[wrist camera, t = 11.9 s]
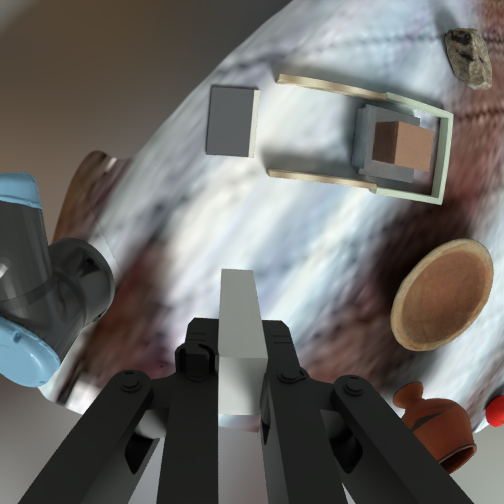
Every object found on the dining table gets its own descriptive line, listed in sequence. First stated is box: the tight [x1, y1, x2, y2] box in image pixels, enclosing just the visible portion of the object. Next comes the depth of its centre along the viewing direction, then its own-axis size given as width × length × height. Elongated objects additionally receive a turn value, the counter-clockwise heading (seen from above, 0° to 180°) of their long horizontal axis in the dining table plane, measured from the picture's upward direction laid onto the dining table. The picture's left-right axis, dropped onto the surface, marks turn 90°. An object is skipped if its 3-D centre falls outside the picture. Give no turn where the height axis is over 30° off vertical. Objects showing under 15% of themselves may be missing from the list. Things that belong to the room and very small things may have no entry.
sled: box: [351, 104, 434, 183], centre depth 40 cm, size 11×11×8 cm
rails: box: [370, 92, 453, 205], centre depth 44 cm, size 14×16×2 cm
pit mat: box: [207, 87, 260, 158], centre depth 42 cm, size 7×10×1 cm
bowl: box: [391, 238, 494, 351], centre depth 50 cm, size 24×24×8 cm
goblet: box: [393, 382, 477, 474], centre depth 54 cm, size 19×19×25 cm
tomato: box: [486, 395, 504, 427], centre depth 71 cm, size 11×12×10 cm
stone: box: [445, 28, 492, 90], centre depth 35 cm, size 7×12×7 cm, turn 24°
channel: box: [267, 74, 386, 190], centre depth 42 cm, size 16×15×4 cm
